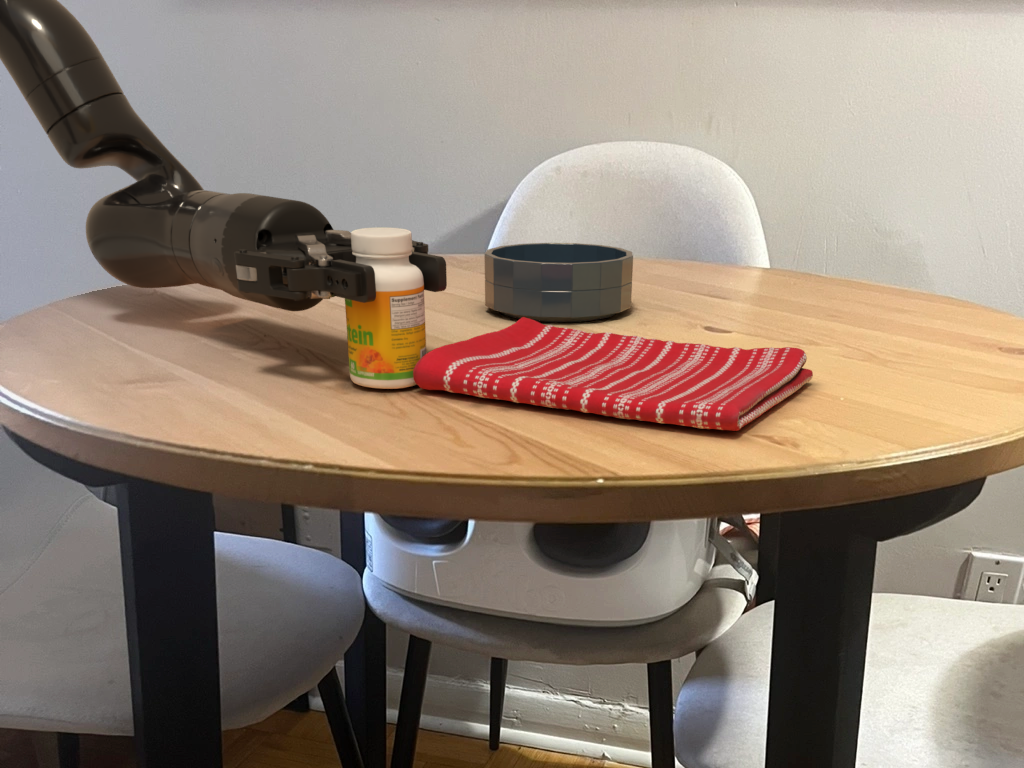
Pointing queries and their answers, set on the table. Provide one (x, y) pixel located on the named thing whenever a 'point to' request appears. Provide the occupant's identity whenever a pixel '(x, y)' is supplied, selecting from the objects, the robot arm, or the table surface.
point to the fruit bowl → (558, 281)
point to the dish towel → (617, 375)
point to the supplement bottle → (386, 312)
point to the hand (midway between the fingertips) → (407, 279)
